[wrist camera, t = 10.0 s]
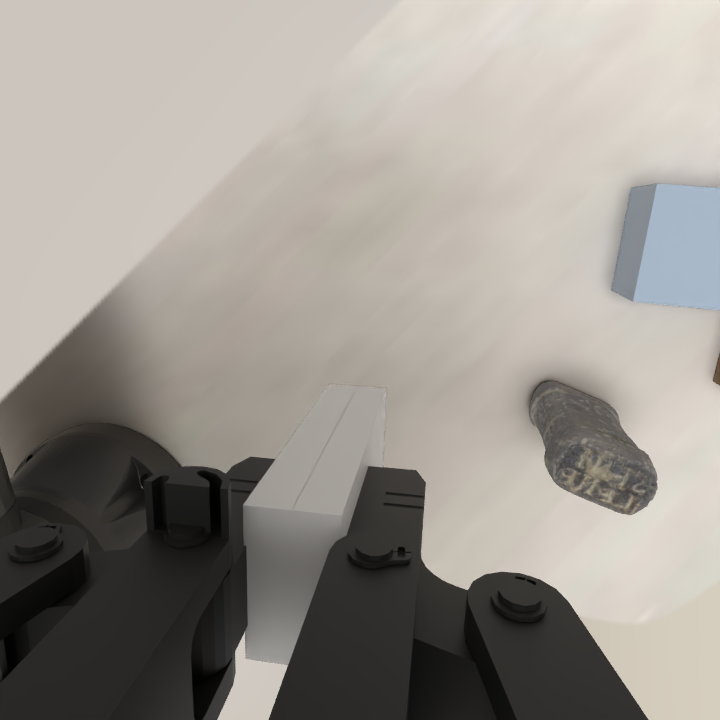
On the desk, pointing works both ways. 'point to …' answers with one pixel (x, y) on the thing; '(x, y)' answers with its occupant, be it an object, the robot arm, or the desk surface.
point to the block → (671, 247)
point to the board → (717, 372)
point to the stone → (591, 449)
